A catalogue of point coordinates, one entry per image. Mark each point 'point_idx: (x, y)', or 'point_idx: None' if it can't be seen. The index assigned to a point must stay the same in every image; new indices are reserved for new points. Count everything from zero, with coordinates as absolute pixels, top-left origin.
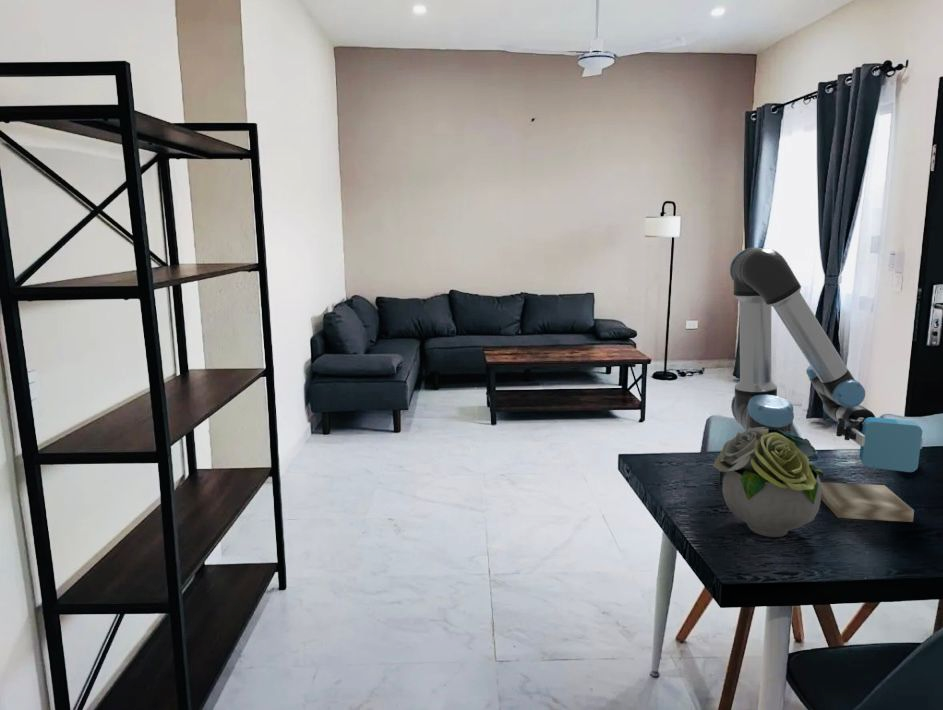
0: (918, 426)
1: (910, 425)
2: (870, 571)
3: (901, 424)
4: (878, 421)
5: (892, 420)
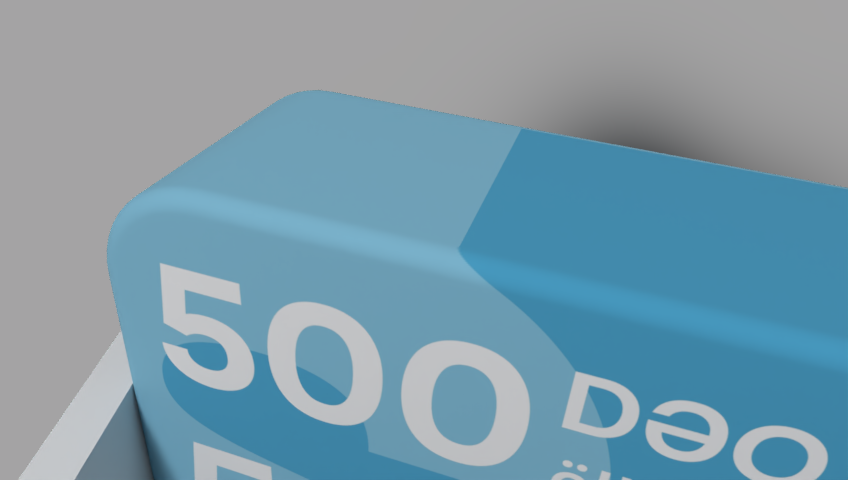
0: (296, 93)
1: (385, 103)
2: None
3: (487, 121)
4: (794, 186)
5: (547, 205)
